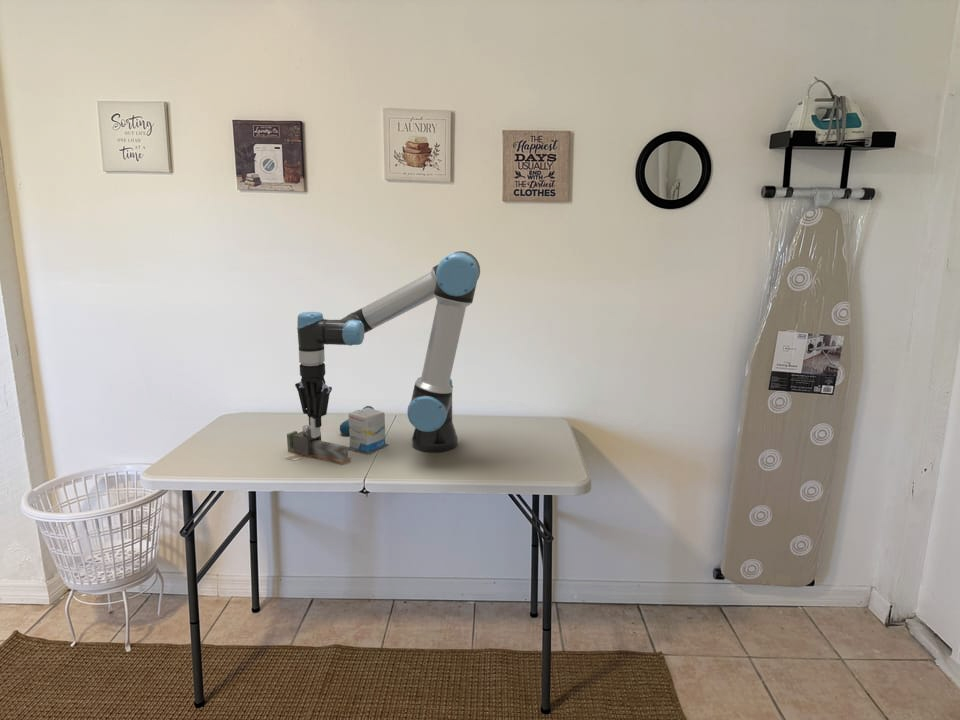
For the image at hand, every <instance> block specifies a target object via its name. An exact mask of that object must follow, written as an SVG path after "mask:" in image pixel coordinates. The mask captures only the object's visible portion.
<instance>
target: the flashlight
mask: <svg viewBox="0 0 960 720" xmlns="http://www.w3.org/2000/svg"><path fill="white" fill-rule="evenodd" d="M365 408H371V409H375V408H374V407H373V406H370V405H366V406H364V407H363V408H362V409H365ZM339 432H340V433H341V434H342V435H344V436H350V434H349V418H348V419H345V420H344V421H343V422H342V423H341V424H340V425H339Z"/></svg>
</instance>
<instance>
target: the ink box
mask: <svg viewBox="0 0 960 720" xmlns="http://www.w3.org/2000/svg"><path fill="white" fill-rule="evenodd" d="M385 415H386V414H385V412H383V411H381V410H377V409H375V408H374V409H371V408H365V409H363V408H361V409H357V410H354V411H352V412H349V413H348V419H349V434H350V435H349V446H350V447H353V448H356V449H359V450H362V451H365V452H369V451H372V450H375V449H378V448H380V447H383V446H385V443H386V426H385V425H386V424H385V423H386V422H385V421H386V419H385Z"/></svg>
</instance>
